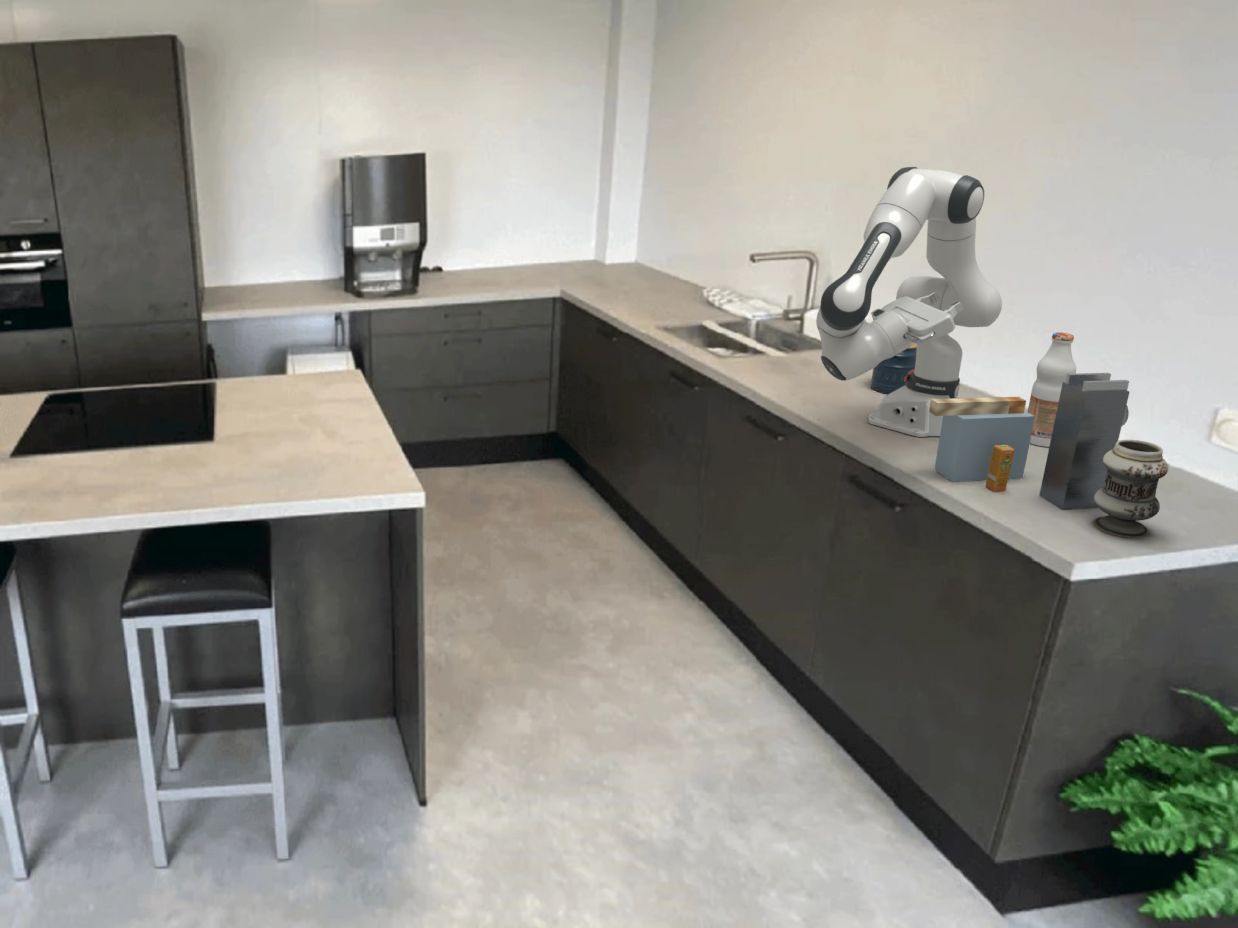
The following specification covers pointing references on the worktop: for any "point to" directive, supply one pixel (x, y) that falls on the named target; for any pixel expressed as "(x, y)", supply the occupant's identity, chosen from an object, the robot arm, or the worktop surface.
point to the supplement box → (1000, 467)
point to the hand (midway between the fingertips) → (949, 300)
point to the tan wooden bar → (977, 406)
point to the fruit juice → (1050, 387)
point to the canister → (893, 371)
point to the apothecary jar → (1130, 487)
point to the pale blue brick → (981, 444)
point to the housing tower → (1083, 438)
